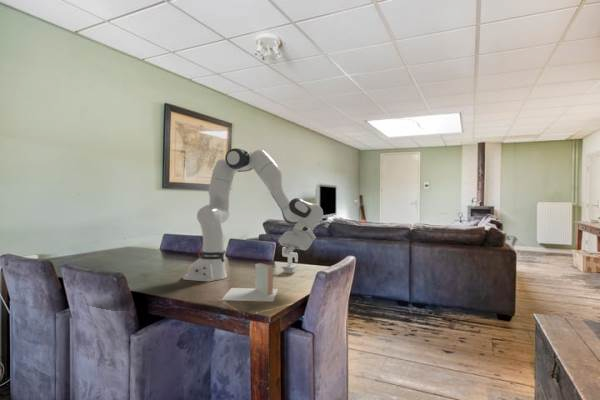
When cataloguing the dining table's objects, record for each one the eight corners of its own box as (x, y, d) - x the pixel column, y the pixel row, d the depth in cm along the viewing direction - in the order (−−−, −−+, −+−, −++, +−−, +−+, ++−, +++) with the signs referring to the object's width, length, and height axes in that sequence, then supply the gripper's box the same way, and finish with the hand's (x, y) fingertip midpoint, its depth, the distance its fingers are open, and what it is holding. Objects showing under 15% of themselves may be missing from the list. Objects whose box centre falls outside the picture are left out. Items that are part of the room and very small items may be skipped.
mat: (220, 301, 137) (220, 300, 137) (231, 289, 155) (231, 287, 155) (273, 302, 137) (273, 301, 137) (277, 290, 155) (278, 288, 155)
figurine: (295, 274, 185) (295, 247, 185) (279, 272, 189) (280, 246, 188) (299, 271, 192) (299, 246, 192) (284, 270, 195) (285, 245, 195)
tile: (260, 288, 155) (260, 263, 154) (272, 293, 147) (272, 267, 147) (255, 289, 153) (255, 263, 153) (266, 295, 145) (267, 267, 145)
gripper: (285, 225, 170) (269, 246, 164) (311, 229, 154) (294, 252, 148) (292, 233, 173) (276, 254, 167) (318, 238, 157) (302, 261, 151)
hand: (285, 253), depth 157 cm, fingers closed
